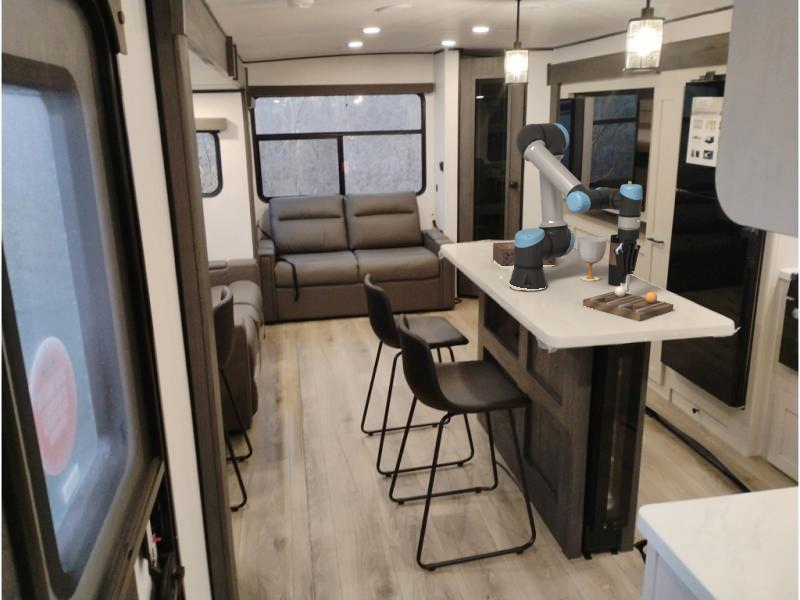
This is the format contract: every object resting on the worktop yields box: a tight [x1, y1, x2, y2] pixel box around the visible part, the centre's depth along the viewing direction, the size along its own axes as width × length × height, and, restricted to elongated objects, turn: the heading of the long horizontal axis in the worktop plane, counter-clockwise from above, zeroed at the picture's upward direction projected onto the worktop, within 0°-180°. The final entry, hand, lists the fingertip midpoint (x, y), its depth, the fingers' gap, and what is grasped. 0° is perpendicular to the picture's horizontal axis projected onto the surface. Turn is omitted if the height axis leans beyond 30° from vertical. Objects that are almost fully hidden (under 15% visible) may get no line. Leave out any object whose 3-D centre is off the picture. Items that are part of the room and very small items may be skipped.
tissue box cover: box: [492, 241, 557, 266], centre depth 303 cm, size 26×14×10 cm, turn 97°
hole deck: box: [582, 291, 674, 323], centre depth 233 cm, size 24×19×3 cm
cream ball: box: [613, 286, 627, 297], centre depth 239 cm, size 4×4×4 cm
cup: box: [577, 236, 608, 281], centre depth 274 cm, size 12×12×17 cm
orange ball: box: [645, 291, 658, 303], centre depth 230 cm, size 4×4×4 cm
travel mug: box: [607, 233, 621, 287], centre depth 264 cm, size 8×8×20 cm
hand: (624, 291), depth 240 cm, fingers closed
